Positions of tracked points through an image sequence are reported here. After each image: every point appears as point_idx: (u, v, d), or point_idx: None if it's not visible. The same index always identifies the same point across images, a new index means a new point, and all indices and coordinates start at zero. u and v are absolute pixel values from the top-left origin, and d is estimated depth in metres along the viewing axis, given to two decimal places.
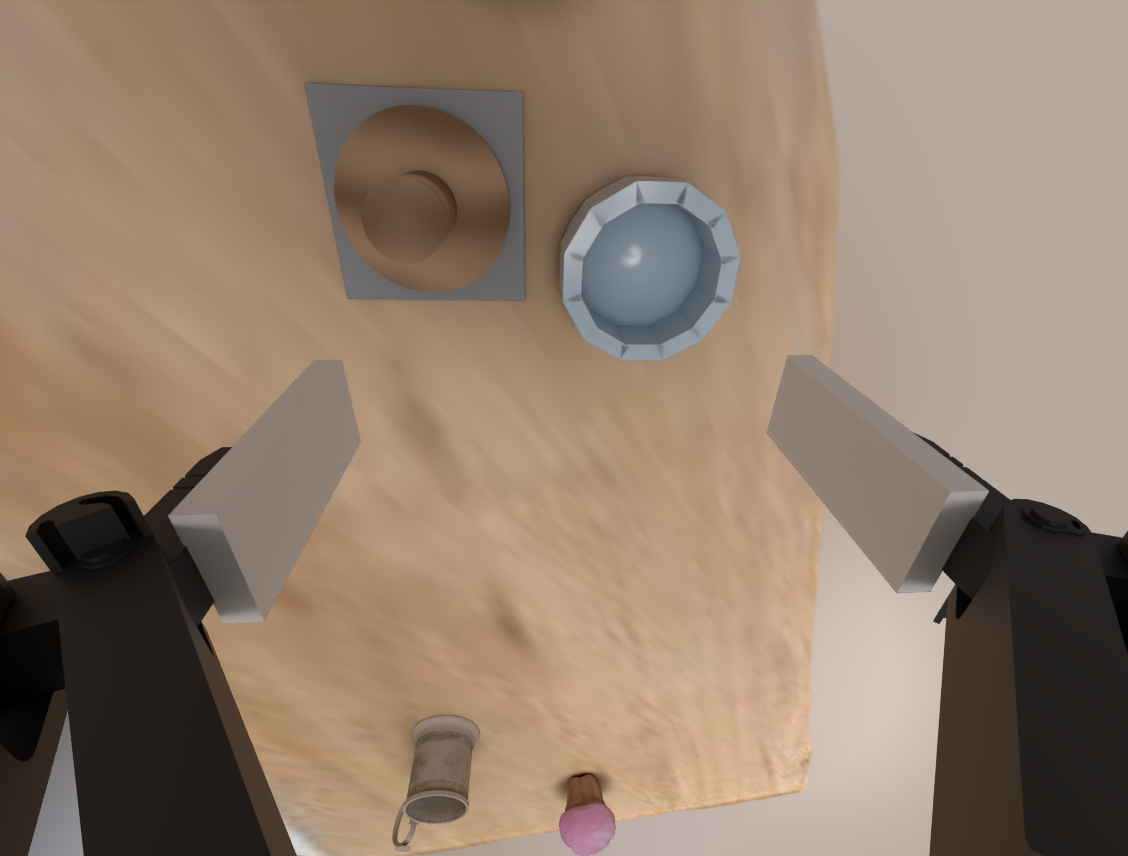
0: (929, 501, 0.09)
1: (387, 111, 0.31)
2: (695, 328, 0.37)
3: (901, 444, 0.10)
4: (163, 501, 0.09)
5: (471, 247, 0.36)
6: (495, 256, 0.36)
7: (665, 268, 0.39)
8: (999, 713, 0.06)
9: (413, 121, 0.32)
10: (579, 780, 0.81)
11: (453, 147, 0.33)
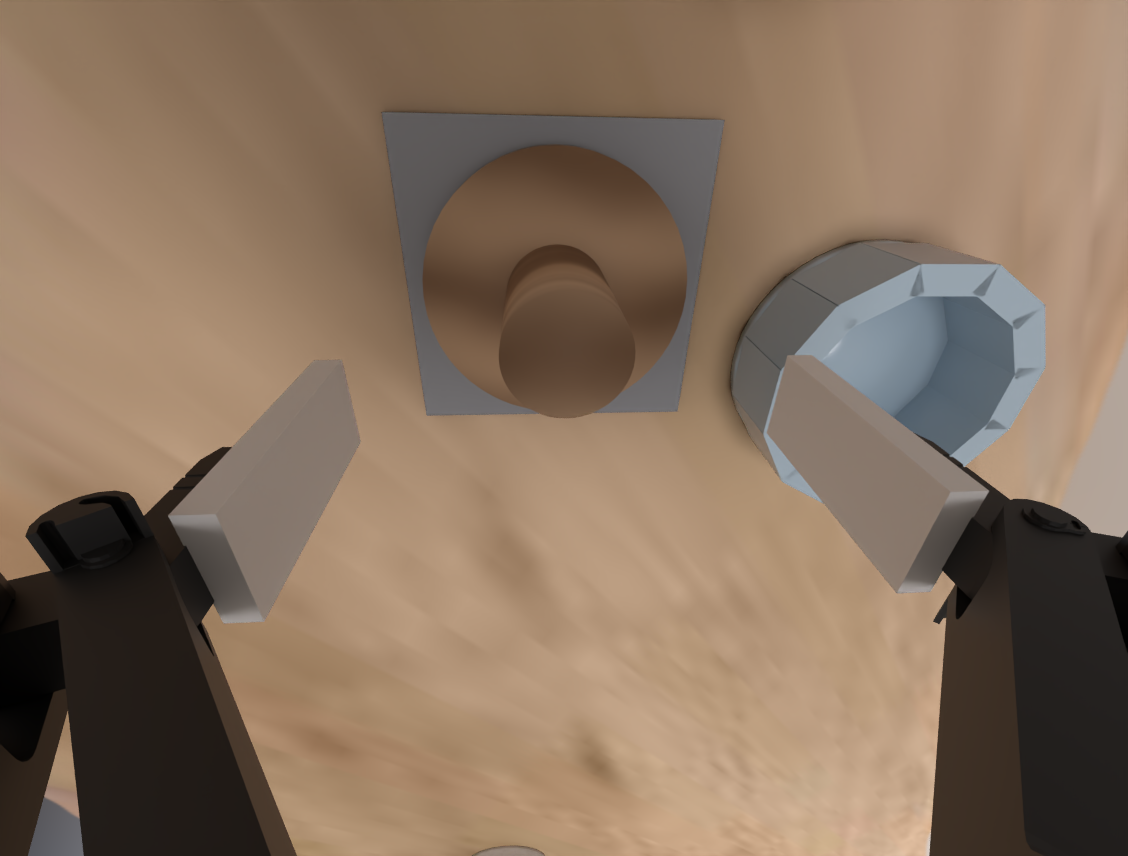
0: (929, 501, 0.09)
1: (516, 156, 0.19)
2: None
3: (901, 444, 0.10)
4: (162, 501, 0.09)
5: None
6: (653, 361, 0.24)
7: (887, 367, 0.27)
8: (999, 713, 0.06)
9: (556, 171, 0.20)
10: None
11: (614, 209, 0.21)
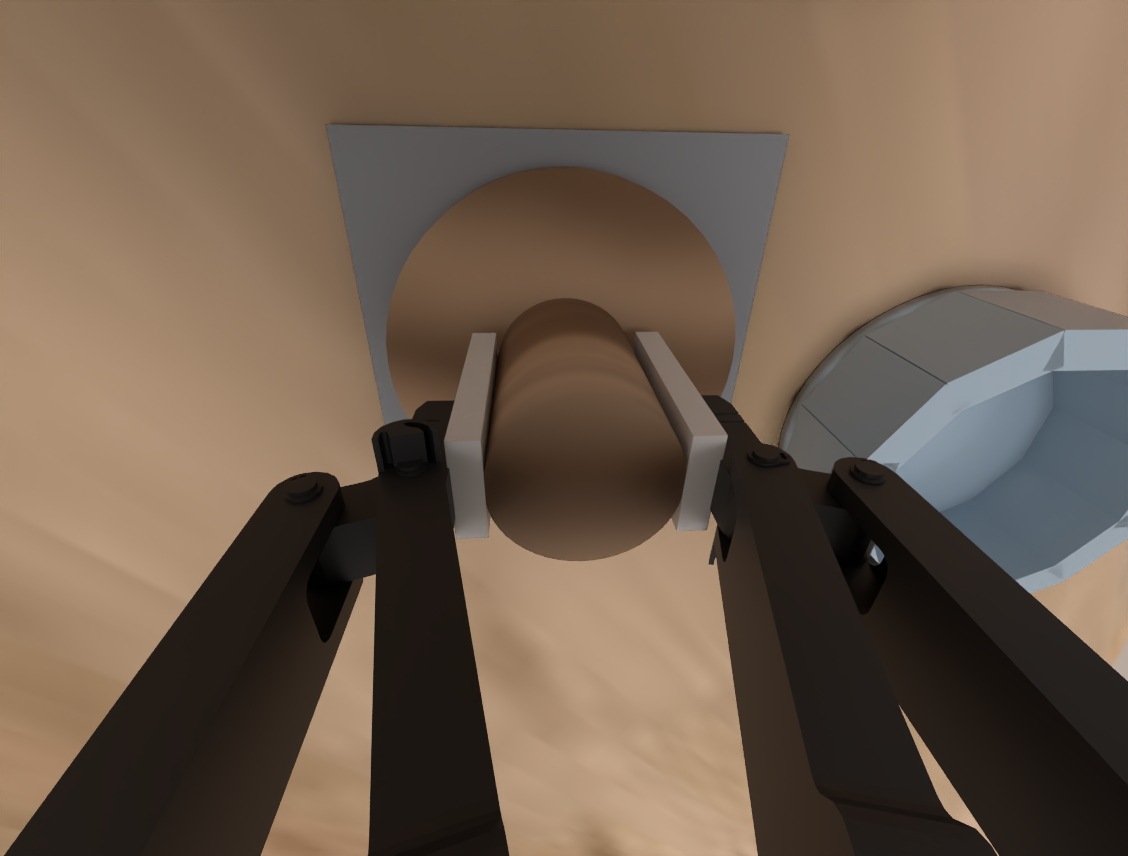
0: (686, 446, 0.11)
1: (510, 183, 0.14)
2: (1060, 566, 0.20)
3: (680, 401, 0.12)
4: None
5: None
6: None
7: (975, 438, 0.21)
8: (770, 654, 0.07)
9: (565, 203, 0.14)
10: None
11: (642, 252, 0.15)
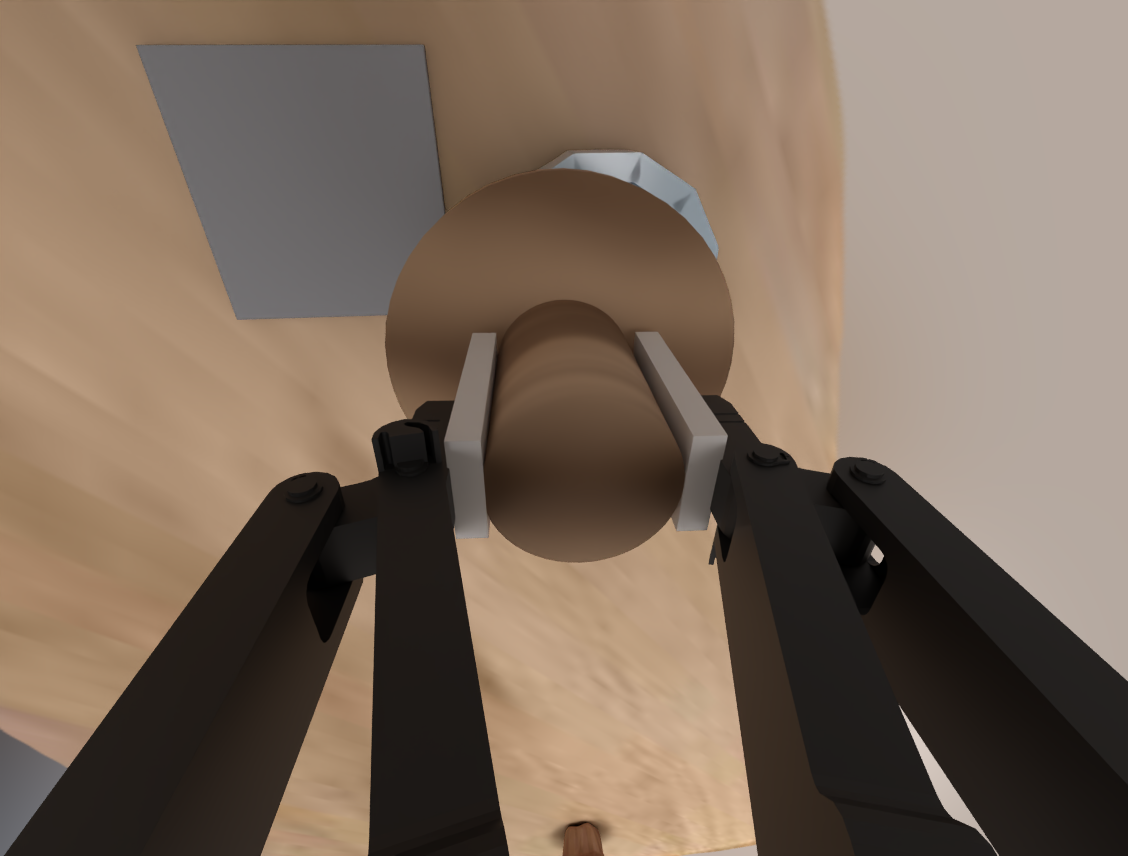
0: (686, 446, 0.11)
1: (509, 185, 0.14)
2: None
3: (680, 401, 0.12)
4: None
5: None
6: None
7: None
8: (770, 654, 0.07)
9: (563, 205, 0.14)
10: (576, 830, 0.74)
11: (640, 254, 0.15)
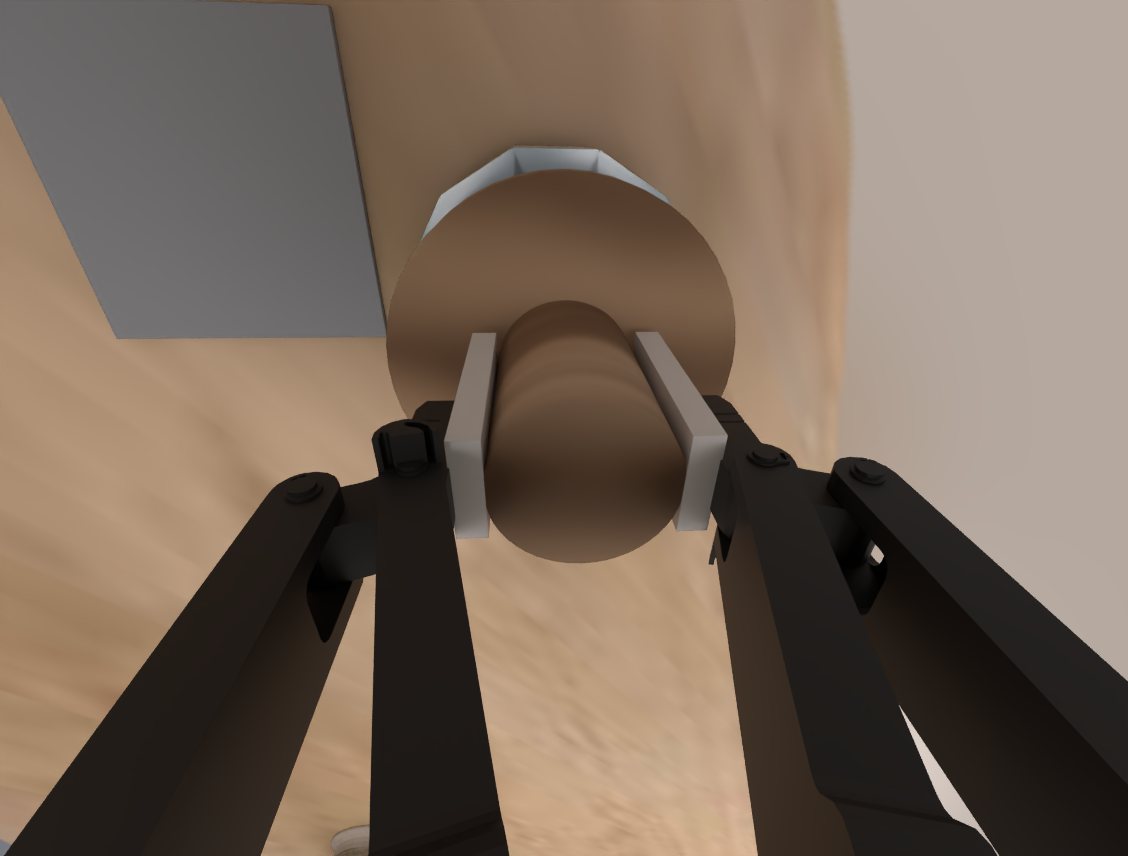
0: (686, 446, 0.11)
1: (510, 186, 0.14)
2: None
3: (680, 401, 0.12)
4: None
5: None
6: None
7: None
8: (770, 654, 0.07)
9: (565, 205, 0.14)
10: None
11: (642, 255, 0.15)
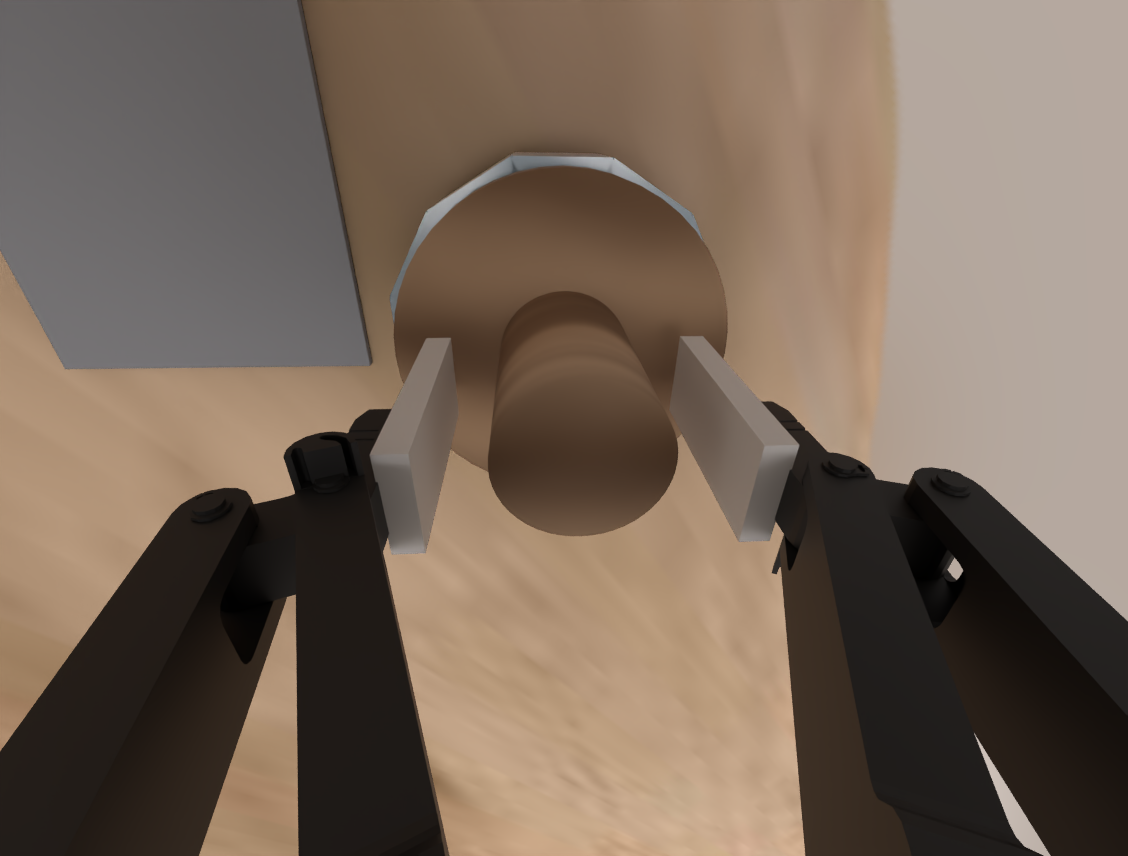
0: (753, 456, 0.11)
1: (513, 181, 0.15)
2: None
3: (742, 408, 0.12)
4: None
5: None
6: None
7: None
8: (834, 662, 0.07)
9: (564, 200, 0.15)
10: None
11: (637, 247, 0.16)
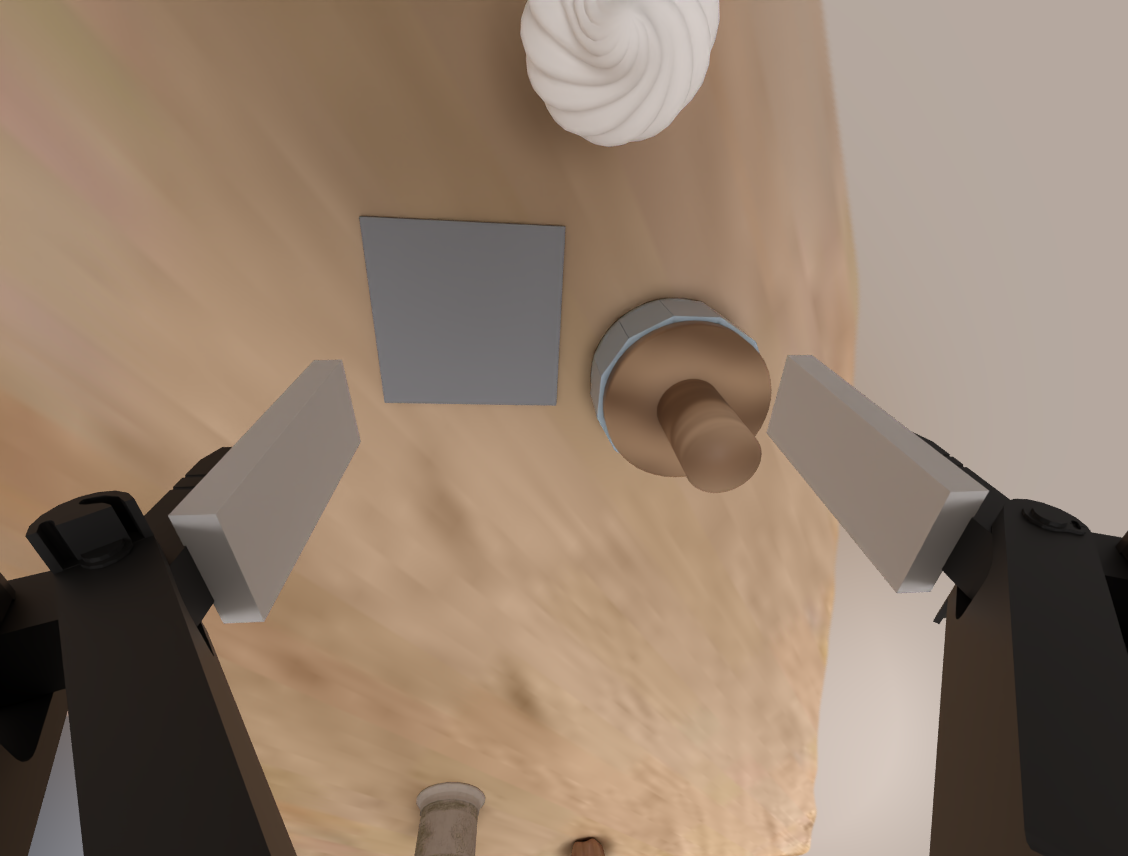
0: (929, 501, 0.09)
1: (679, 332, 0.32)
2: None
3: (901, 444, 0.10)
4: (162, 501, 0.09)
5: None
6: None
7: None
8: (999, 713, 0.06)
9: (701, 340, 0.33)
10: (583, 845, 0.80)
11: (731, 360, 0.34)
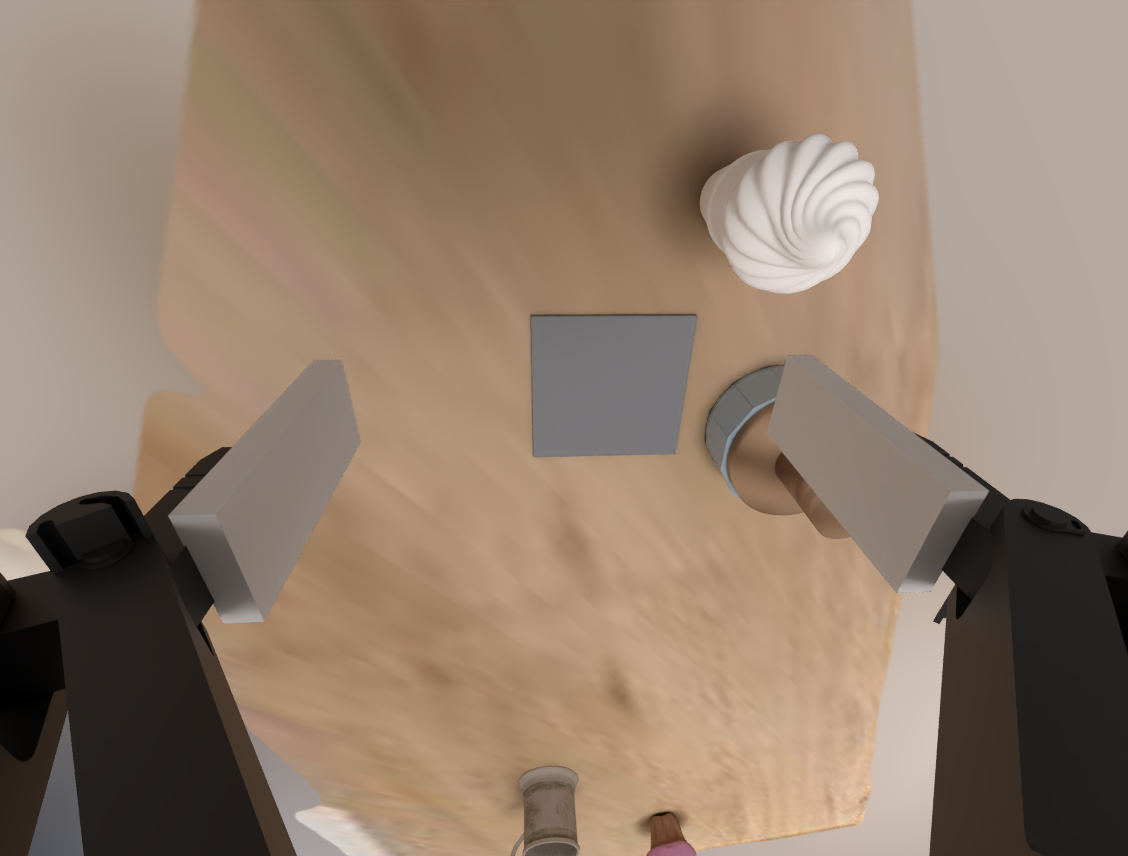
0: (929, 501, 0.09)
1: None
2: None
3: (901, 444, 0.10)
4: (163, 501, 0.09)
5: None
6: None
7: None
8: (999, 713, 0.06)
9: None
10: (661, 819, 0.89)
11: None
